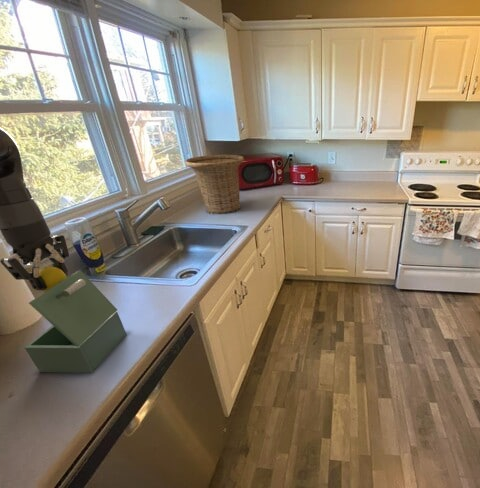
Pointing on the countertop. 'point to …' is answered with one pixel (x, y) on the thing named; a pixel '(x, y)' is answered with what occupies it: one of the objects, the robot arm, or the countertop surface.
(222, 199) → the wicker basket
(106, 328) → the bin
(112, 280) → the countertop surface
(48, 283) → the lemon
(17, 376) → the countertop surface
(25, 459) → the countertop surface
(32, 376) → the countertop surface
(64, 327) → the bin lid
